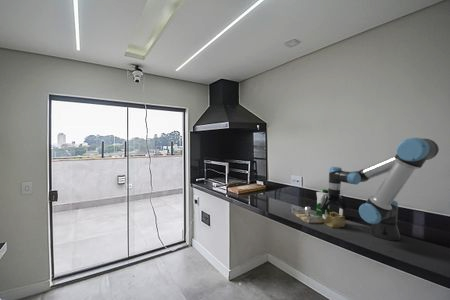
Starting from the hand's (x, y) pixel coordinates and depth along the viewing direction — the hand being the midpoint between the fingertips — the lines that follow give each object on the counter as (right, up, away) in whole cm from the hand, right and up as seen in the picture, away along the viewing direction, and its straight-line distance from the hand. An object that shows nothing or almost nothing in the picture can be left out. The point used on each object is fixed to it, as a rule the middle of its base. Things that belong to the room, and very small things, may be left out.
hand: (332, 218), depth 147 cm
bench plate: (-14, -4, +11) cm, 18 cm away
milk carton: (+2, -4, +20) cm, 20 cm away
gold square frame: (0, -4, 0) cm, 4 cm away
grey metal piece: (-13, -2, +11) cm, 18 cm away
